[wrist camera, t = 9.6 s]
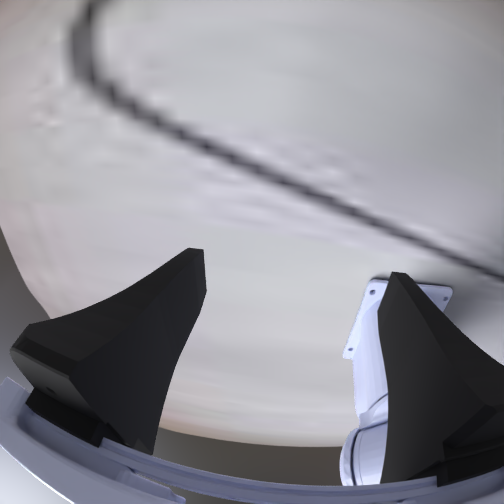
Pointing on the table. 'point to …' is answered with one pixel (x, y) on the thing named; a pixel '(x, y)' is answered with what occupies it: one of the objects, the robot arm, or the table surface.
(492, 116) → the table surface
